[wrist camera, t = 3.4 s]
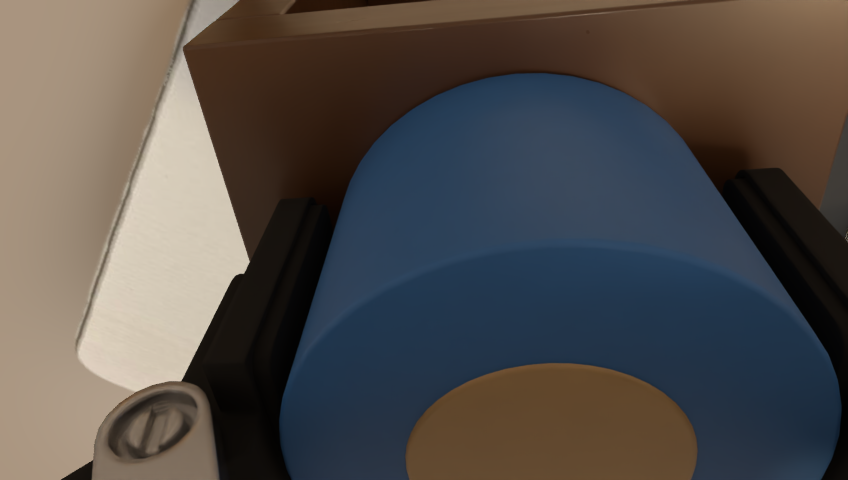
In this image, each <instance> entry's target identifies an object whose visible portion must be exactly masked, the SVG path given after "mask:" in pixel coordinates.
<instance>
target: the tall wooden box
mask: <svg viewBox="0 0 848 480" xmlns="http://www.w3.org/2000/svg"><path fill="white" fill-rule="evenodd" d="M183 52H184V55H185V58H186V61H187V64H188V68H189V71H190V74H191V77H192V80H193V83H194V87H195V90H196V93H197V96H198V99H199V102H200V106H201V109H202V112H203V115H204V118H205V121H206V125H207V128H208V131H209V134H210V137H211V140H212V144H213V147H214V150H215V153H216V156H217V159H218V163H219V166H220V169H221V172H222V175H223V178H224V181H225V185H226V188H227V191H228V194H229V197H230V200H231V204H232V207H233V210H234V213H235V216H236V219H237V223H238V226H239V229H240V232H241V235H242V238H243V242H244V245H245V248H246V251H247V254H248V257H249V261H251V259H252V257H253V254H254V252H255V250H256V248H257V246H258V244H259V242H260V240H261V238H262V236H263V233H264V231H265V229H266V227H267V225H268V223H269V221H270V219H271V217H272V215H273V213H274V210H275V208H276V206H277V204H278V202H279V201H280V199H290V198H305V197H313V198H314V199H315V201H316V203H317V205H324V204H325V205H326V206H327V208H328V212H329V216H330V220H331V225H332V230H333V233H334V229H335V226H336V223H337V220H338V216H339V213H340V210H341V207H342V203H343V200H344V197H345V195H346V192H347V189H348V186H349V183H350V180H351V179H352V177H353V175H354V173H355V171H356V169H357V167H358V165H359V163H360V162H361V160H362V159H363V157H364V156H365V155H366V153H367V152H368V151H369V149H370V148H371V147H372V145H373V144H374V142H375V141H376V140H377V139H378V138H379V137H380V136H381V135H382V134H383V133H384V132H385V131H386V130H387V129H388V128H389V127H390V126H391V125H392V124H394V123H395V122H396V121H397V120H399V119H400V118H401V117H403V116H404V115H405V114H407V113H408V112H409V111H410V110H412V109H413V108H415V107H417V106H419V105H420V104H422V103H424V102H425V101H427V100H429V99H431V98H432V97H434V96H436V95H438V94H441V93H443V92H446V91H448V90H450V89H453V88H455V87H458V86H460V85H463V84H467V83H471V82H474V81H478V80H481V79H485V78H490V77H496V76H503V75H510V74H525V73H548V74H557V75H566V76H574V77H578V78H582V79H586V80H590V81H594V82H598V83H601V84H604V85H606V86H609V87H611V88H614V89H616V90H619V91H621V92H624V93H626V94H627V95H629V96H631V97H633V98H634V99H636V100H638V101H640V102H641V103H643V104H645V105H647V106H648V107H649V108H650V109H652V110H653V111H654V112H656V113H657V114H658V115H659V116H661V117H662V118H663V119H664V120H666V121H667V122H668V123H669V125H670V126H671V127H672V128H673V129H674V130H675V131H676V132H677V133H678V134H679V135H680V137H681V138H682V139H683V140H684V142H685V143H686V145H687V146H688V148H689V149H690V150H691V152H692V153H693V155H694V156H695V158H696V159H697V161H698V162H699V164H700V165H701V167H702V168H703V170H704V171H705V172H706V174H707V175H708V177H709V178H710V180H711V181H712V183H713V184H714V186H715V187H716V189H717V190H718V192H719V193H720V195H721V196H722V191H723V186H724V184H725V182H726V181H727V180H728V179H735V176H736V175H737V173H738V172H739V171H740V170H745V169H761V168H780V169H782V170H783V171H784V172H785V173H786V174H787V176H788V177H789V178H790V179H791V180H792V181H793V182H794V183H795V184H796V186H797V187H798V188H799V189H800V190H801V191H802V192H803V193H804V194H805V196H806V197H807V198H808V199H809V200H810V201H811V202H812V203H813V204H814V206H815V207H816V208H817V209H818V210H820V206H821V203H822V200H823V196H824V193H825V189H826V186H827V182H828V179H829V176H830V172H831V169H832V165H833V162H834V158H835V155H836V152H837V148H838V145H839V141H840V138H841V134H842V131H843V128H844V124H845V121H846V117H847V114H848V0H240V1H239V2H237V3H236V4H235V5H234V6H233V7H231V8H230V9H229V10H228V11H226V12H225V13H224V14H223V15H222V16H220V17H219V18H218V19H217V20H216V21H214V22H213V23H212V24H210V25H209V26H208V27H207V28H206V29H204V30H203V31H202V32H201V33H199V34H198V35H197V36H196V37H195V38H193V39H192V40H191V41H190V42H189V43H187V44H186V45H185V46H184V47H183Z"/></svg>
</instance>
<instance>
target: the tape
mask: <svg viewBox="0 0 848 480" xmlns="http://www.w3.org/2000/svg"><path fill="white" fill-rule="evenodd" d="M841 411H842V408H841V399H840V392H839V384H838V379H837V376H836V373H835V371H834V368H833V365H832V363H831V360H830V357H829V355H828V353H827V351H826V350H825V348H824V347H823V345H822V344H821V342H820V340H819V339H818V337H817V336H816V334H815V333H814V331H813V330H812V328H811V327H810V325H809V324H808V322H807V321H806V319H805V318H804V316H803V315H802V313H801V312H800V310H799V309H798V308H797V306H796V305H795V303H794V302H793V300H792V299H791V297H790V296H789V294H788V293H787V291H786V290H785V288H784V287H783V286H782V284H781V283H780V281H779V280H778V278H777V277H776V275H775V274H774V272H773V271H772V269H771V268H770V266H769V265H768V263H767V262H766V261H765V259H764V258H763V256H762V255H761V253H760V252H759V250H758V249H757V247H756V246H755V244H754V243H753V241H752V240H751V239H750V237H749V236H748V234H747V233H746V231H745V230H744V228H743V227H742V225H741V224H740V222H739V221H738V219H737V218H736V217H735V215H734V214H733V212H732V211H731V209H730V208H729V206H728V205H727V203H726V202H725V200H724V199H723V197H722V196H721V195H720V193H719V192H718V190H717V189H716V187H715V186H714V184H713V183H712V181H711V180H710V178H709V177H708V175H707V174H706V172H705V171H704V170H703V168H702V167H701V165H700V164H699V162H698V161H697V159H696V158H695V156H694V155H693V153H692V152H691V150H690V149H689V148H688V146H687V145H686V143H685V142H684V140H683V139H682V138H681V137H680V135H679V134H678V133H677V132H676V131H675V130H674V129H673V128H672V127H671V126H670V125H669V123H668V122H667V121H666V120H664V119H663V118H662V117H661V116H659V115H658V114H657V113H656V112H654V111H653V110H652V109H650V108H649V107H648V106H647V105H645V104H643V103H641V102H640V101H638V100H636V99H634V98H633V97H631V96H629V95H627V94H626V93H624V92H621V91H619V90H616V89H614V88H611V87H609V86H606V85H604V84H601V83H598V82H594V81H590V80H586V79H582V78H578V77H574V76H566V75H557V74H548V73H525V74H510V75H503V76H496V77H490V78H485V79H481V80H478V81H474V82H471V83H467V84H463V85H460V86H458V87H455V88H453V89H450V90H448V91H446V92H443V93H441V94H438V95H436V96H434V97H432V98H431V99H429V100H427V101H425V102H424V103H422V104H420V105H419V106H417V107H415V108H413V109H412V110H410V111H409V112H408V113H407V114H405V115H404V116H403V117H401V118H400V119H399V120H397V121H396V122H395V123H394V124H392V125H391V126H390V127H389V128H388V129H387V130H386V131H385V132H384V133H383V134H382V135H381V136H380V137H379V138H378V139H377V140H376V141H375V142H374V144H373V145H372V147H371V148H370V149H369V151H368V152H367V153H366V155H365V156H364V157H363V159H362V160H361V162H360V163H359V165H358V167H357V169H356V171H355V173H354V175H353V177H352V179H351V180H350V183H349V186H348V189H347V192H346V195H345V197H344V200H343V203H342V207H341V210H340V213H339V216H338V220H337V223H336V226H335V229H334V233H333V236H332V239H331V242H330V245H329V249H328V252H327V255H326V258H325V262H324V265H323V268H322V271H321V275H320V278H319V281H318V284H317V287H316V291H315V294H314V297H313V300H312V304H311V307H310V310H309V313H308V317H307V320H306V323H305V326H304V329H303V333H302V336H301V339H300V342H299V346H298V349H297V352H296V355H295V359H294V362H293V365H292V368H291V371H290V375H289V378H288V381H287V384H286V388H285V391H284V394H283V397H282V404H281V411H280V418H279V431H280V445H281V450H282V454H283V458H284V461H285V465H286V469H287V471H288V474H289V476H290V478H291V480H821V479H822V477H823V475H824V473H825V471H826V469H827V468H828V466H829V464H830V462H831V460H832V458H833V454H834V451H835V448H836V444H837V441H838V438H839V434H840V423H841Z"/></svg>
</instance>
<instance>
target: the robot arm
mask: <svg viewBox="0 0 848 480" xmlns="http://www.w3.org/2000/svg"><path fill="white" fill-rule="evenodd" d="M722 197H723V199H724V200H725V202H726V203H727V205H728V206H729V208H730V209H731V211H732V212H733V214H734V215H735V217H736V218H737V219H738V221H739V222H740V224H741V225H742V227H743V228H744V230H745V231H746V233H747V234H748V236H749V237H750V239H751V240H752V241H753V243H754V244H755V246H756V247H757V249H758V250H759V252H760V253H761V255H762V256H763V258H764V259H765V261H766V262H767V263H768V265H769V266H770V268H771V269H772V271H773V272H774V274H775V275H776V277H777V278H778V280H779V281H780V283H781V284H782V286H783V287H784V288H785V290H786V291H787V293H788V294H789V296H790V297H791V299H792V300H793V302H794V303H795V305H796V306H797V308H798V309H799V310H800V312H801V313H802V315H803V316H804V318H805V319H806V321H807V322H808V324H809V325H810V327H811V328H812V330H813V331H814V333H815V334H816V336H817V337H818V339H819V340H820V342H821V344H822V345H823V347H824V348H825V350H826V351H827V353H828V355H829V357H830V360H831V363H832V365H833V368H834V371H835V373H836V376H837V379H838V384H839V392H840V399H841V408H842V411H841V423H840V434H839V438H838V441H837V444H836V448H835V451H834V454H833V458H832V460H831V462H830V464H829V466H828V468H827V469H826V471H825V473H824V475H823V477H822V479H821V480H848V242H847V241H846V240H845V239H844V238H843V237H842V235H841V234H840V233H839V232H838V231H837V230H836V229H835V228H834V227H833V225H832V224H831V223H830V222H829V221H828V220H827V219H826V218H825V217H824V215H823V214H822V213H821V212H820V211H819V210H818V209H817V208H816V207H815V206H814V204H813V203H812V202H811V201H810V200H809V199H808V198H807V197H806V196H805V194H804V193H803V192H802V191H801V190H800V189H799V188H798V187H797V186H796V184H795V183H794V182H793V181H792V180H791V179H790V178H789V177H788V176H787V174H786V173H785V172H784V171H783V170H782V169H780V168H761V169H745V170H740V171H739V172H738V173H737V175H736V176H735V179H728V180H727V181H726V182H725V184H724V186H723V191H722ZM332 236H333V230H332V225H331V220H330V216H329V212H328V208H327V206H326V205H325V204H324V205H317V203H316V201H315V199H314V198H313V197H305V198H290V199H280V201H279V202H278V204H277V206H276V208H275V210H274V213H273V215H272V217H271V219H270V221H269V223H268V225H267V227H266V229H265V231H264V233H263V236H262V238H261V240H260V242H259V244H258V246H257V248H256V250H255V252H254V254H253V257H252V259H251V261H250V263H249V265H248V267H247V269H246V271H245V273H244V274H239V275H236V276H235V277H234V278H233V280H232V281H231V283H230V285H229V287H228V289H227V291H226V293H225V295H224V297H223V299H222V301H221V303H220V305H219V307H218V309H217V311H216V313H215V315H214V317H213V319H212V321H211V323H210V325H209V327H208V329H207V331H206V333H205V335H204V337H203V339H202V341H201V343H200V345H199V347H198V349H197V351H196V353H195V355H194V357H193V359H192V361H191V363H190V365H189V367H188V369H187V371H186V373H185V375H184V377H183V379H182V381H181V382H177V381H169V382H164V383H160V384H155V385H152V386H149V387H147V388H145V389H142V390H140V391H138V392H136V393H134V394H133V395H131V396H129V397H128V398H126V399H125V400H123V401H122V402H121V403H119V404H118V405H117V406H116V407H115V408H114V409H113V410H112V411H111V412H110V413H109V414H108V415H107V416H106V418H105V420H104V421H103V423H102V424H101V426H100V427H99V429H98V433H97V436H96V439H95V444H94V459H93V461H91V462H89V463H88V464H86V465H84V466H83V467H81V468H79V469H78V470H76V471H74V472H73V473H71V474H70V475H68V476H66V477H65V478H63V479H61V480H291V478H290V476H289V474H288V471H287V469H286V465H285V461H284V458H283V454H282V450H281V445H280V431H279V418H280V411H281V404H282V397H283V394H284V391H285V388H286V384H287V381H288V378H289V375H290V371H291V368H292V365H293V362H294V359H295V355H296V352H297V349H298V346H299V342H300V339H301V336H302V333H303V329H304V326H305V323H306V320H307V317H308V313H309V310H310V307H311V304H312V300H313V297H314V294H315V291H316V287H317V284H318V281H319V278H320V275H321V271H322V268H323V265H324V262H325V258H326V255H327V252H328V249H329V245H330V242H331V239H332Z"/></svg>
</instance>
